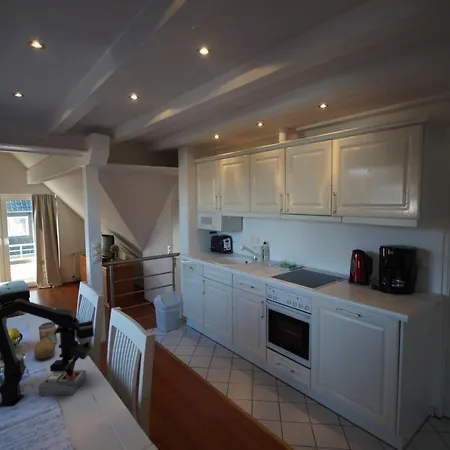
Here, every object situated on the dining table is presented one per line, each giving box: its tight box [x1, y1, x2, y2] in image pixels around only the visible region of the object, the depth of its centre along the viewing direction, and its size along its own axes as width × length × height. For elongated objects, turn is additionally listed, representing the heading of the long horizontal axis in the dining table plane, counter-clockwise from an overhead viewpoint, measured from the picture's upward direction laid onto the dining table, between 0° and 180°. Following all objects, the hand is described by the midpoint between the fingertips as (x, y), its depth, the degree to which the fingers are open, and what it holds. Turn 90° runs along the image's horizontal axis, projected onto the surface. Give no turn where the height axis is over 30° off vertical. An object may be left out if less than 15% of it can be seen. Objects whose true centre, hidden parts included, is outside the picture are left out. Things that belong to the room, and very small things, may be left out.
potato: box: [33, 339, 56, 359], centre depth 163 cm, size 10×14×8 cm
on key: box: [47, 373, 62, 382], centre depth 136 cm, size 4×4×5 cm
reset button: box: [66, 373, 76, 380], centre depth 135 cm, size 4×4×5 cm
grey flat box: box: [37, 369, 87, 397], centre depth 136 cm, size 12×14×5 cm
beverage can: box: [38, 321, 58, 345], centre depth 176 cm, size 9×8×12 cm
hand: (70, 375), depth 135 cm, fingers closed, pressing on reset button
